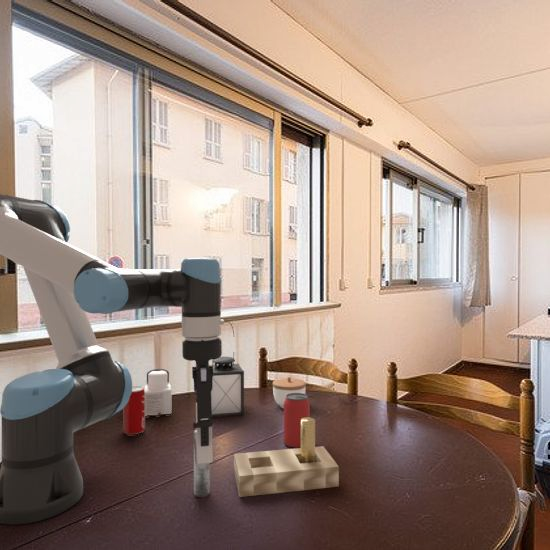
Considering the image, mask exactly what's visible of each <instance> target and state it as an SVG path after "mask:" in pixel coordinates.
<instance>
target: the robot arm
mask: <svg viewBox="0 0 550 550" xmlns="http://www.w3.org/2000/svg"><path fill="white" fill-rule="evenodd" d="M70 232H71V224H70V221H69V219H68V217H67V214H65V212H64V211H63V210H62V209H61V208H60V207H58V206H57V205H55V204H53V203H50V202H49V203H48V202H47V201H43V200H40V199H28V198H23V197H19V196H13V195H8V194H4V193H3V194H2V193H0V255H1V256H2V257H4V258H7V260H8V259H9V260H10V261H12V262H13V263H14V264H16V265H19V266H22V268H23V270H24V273H25V276H26V278H27V281H28V284H29V287H30V289H31V291H32V294H33V297H34V299H35V302H36V305H37V307H38V310H39V313H40V316H41V318H42V321H43V323H44V326H45V330H46V332H47V334H48V337H49V339H50V342H51V344H52V347H53V351H54V353H55V355H56V356H55V357H56V359H57V361H58V363H57V365H56V366H55V367H56V368H52V369H45V370H42V371H34V372H30V373H28V374H25V375H22V376H19V377H16V378H15V379H13V380H11V381H10V382H8V384H6V386H5V387H4V389H3V391H2V394H1V395H2V397H1V405H0V415H1V467H0V524H3V525H25V524H32V523H35V522H37V523H38V522H41V521H44V520H47V519H50V518H53V517H55V516H57V515H59V514H62V513H64V512H65V511H67V510H69V509H71V508H72V507H74V505H76V504H77V503H78V502H79V501H80V500H81V499H82V496H83V495H84V480H83V479H84V478H83V476H82V473H81V470H80V467H79V465H78V463H77V460H76V457H75V454H74V433H75V432H77V431H81V430H82V429H85V428H87V427H89V426H91V425H94V424H96V423H98V422H100V421H103V420H107V419H109V418H110V417H112V416H114V415H115V414H116V413H117V414H118V413H119V412H120V411H122V410H123V408H124V407H125V406H126V404H127V403H128V401H129V397H130V395H131V393H132V386H133V380H132V375H131V373H130V371H129V369H128V368H127V366H126V365H125V364H122V363H121V362H120V361H116V360H113V358H112V356H111V352H110V351H109V350H108V349H106V348H104V347H101V346H100V345H99V342H98V340H97V338H96V335H95V333H94V330H93V328H92V325H91V322H90V320H89V318H88V315H87V313H89V314H102V315H108V314H113V313H117V312H125V311H132V310H141V309H142V310H143V309H149V308H162V307H165V308H166V307H168V308H169V307H170V308H171V307H176V308H178V307H179V308H181V336H182V337H183V338H184V339H183V340H182V341H181V342H182V343H181V346H182V348H181V349H182V351H181V353H182V358H183V359H184V360H185V361H191V362H192V361H195V366H191V368H192V369H191V371H192V372H191V375H192V377H191V378H192V379H193V390H194V393H195V401H196V402H195V422H193V423H192V426H193V427H192V428H193V429H195V430H197V464H201V463H211V464H212V463H213V462H214V461H213V460H214V459H213V424H214V422H213V417H212V408H211V391H212V387H213V384H212V378H213V368H212V366H209V365H210V362H209V361H211V360H214V359H217V358H219V357H222V354H223V351H222V350H223V349H222V339H221V337H220V336H221V335H222V327H221V326H222V325H224V324H225V320H224V319H221V318H222V315H221V314H222V312H221V310H222V309H221V306H222V305H221V292H222V291H221V284H222V279H221V267H220V261H218V259H215V258H213V257H211V258H209V257H191V258H190V257H189V258H184V259H182V260H181V261H180V262H181V263H180V268H175V269H150V268H149V269H146V268H145V269H141V268H140V269H139V268H138V269H135V268H133V269H132V268H120V267H119V268H118V267H116V266H113V265H112V264H110V263H107V261H103V260H102V259H100V258H98V257H96V256H94V255H91V254H89V253H88V252H86V251H83V250H82V249H80V248H78V247H76V246H73V245H72V244H69V243H68V242H69V239H70V234H69V233H70Z"/></svg>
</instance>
